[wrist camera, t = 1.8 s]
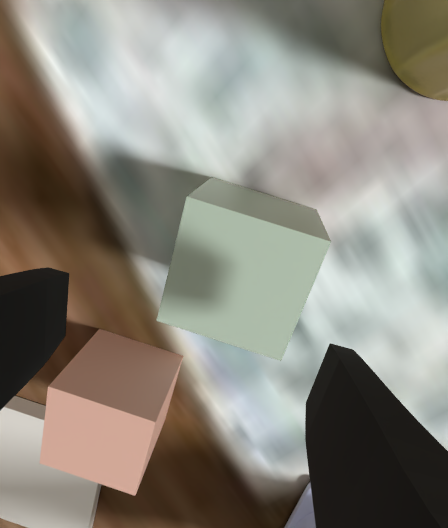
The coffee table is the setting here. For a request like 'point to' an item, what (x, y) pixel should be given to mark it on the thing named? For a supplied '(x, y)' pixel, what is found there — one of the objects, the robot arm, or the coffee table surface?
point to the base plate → (38, 476)
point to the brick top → (109, 410)
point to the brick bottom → (242, 267)
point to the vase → (418, 44)
